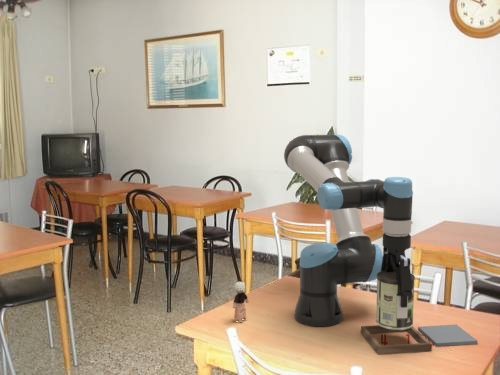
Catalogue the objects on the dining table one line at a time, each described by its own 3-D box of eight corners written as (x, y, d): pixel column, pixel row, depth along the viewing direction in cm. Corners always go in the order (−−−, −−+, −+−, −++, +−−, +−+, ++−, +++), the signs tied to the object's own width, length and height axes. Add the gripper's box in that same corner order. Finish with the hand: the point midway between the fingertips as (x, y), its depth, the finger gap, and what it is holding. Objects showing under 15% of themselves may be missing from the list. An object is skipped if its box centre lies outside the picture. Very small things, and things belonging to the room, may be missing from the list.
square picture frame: (360, 332, 160) (360, 326, 160) (409, 329, 162) (409, 323, 161) (378, 354, 145) (378, 347, 145) (431, 351, 147) (431, 344, 147)
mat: (418, 329, 161) (418, 326, 161) (456, 327, 163) (456, 324, 163) (436, 346, 150) (436, 343, 149) (477, 344, 151) (477, 340, 151)
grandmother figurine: (239, 316, 175) (239, 278, 173) (250, 317, 173) (250, 279, 172) (229, 324, 168) (228, 285, 166) (240, 326, 166) (239, 286, 165)
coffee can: (411, 317, 157) (413, 270, 155) (414, 331, 147) (416, 281, 145) (375, 315, 159) (376, 268, 157) (376, 329, 149) (377, 279, 147)
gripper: (427, 242, 139) (424, 325, 142) (394, 224, 161) (392, 296, 164) (399, 244, 138) (396, 327, 141) (370, 225, 160) (368, 297, 163)
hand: (394, 310), depth 153 cm, fingers closed on coffee can, 10 cm apart
